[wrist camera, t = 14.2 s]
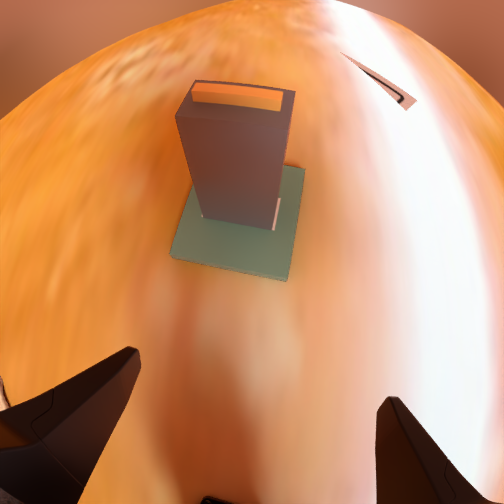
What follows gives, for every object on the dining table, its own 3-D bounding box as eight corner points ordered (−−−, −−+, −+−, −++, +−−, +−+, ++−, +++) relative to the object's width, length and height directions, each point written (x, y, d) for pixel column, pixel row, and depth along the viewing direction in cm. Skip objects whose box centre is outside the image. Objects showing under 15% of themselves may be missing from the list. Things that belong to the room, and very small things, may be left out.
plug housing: (271, 230, 25) (289, 118, 13) (203, 217, 25) (171, 105, 13) (278, 196, 26) (297, 80, 14) (213, 185, 26) (193, 69, 14)
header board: (286, 281, 24) (292, 266, 21) (172, 257, 25) (159, 239, 21) (303, 175, 28) (310, 149, 25) (206, 158, 29) (201, 132, 25)
